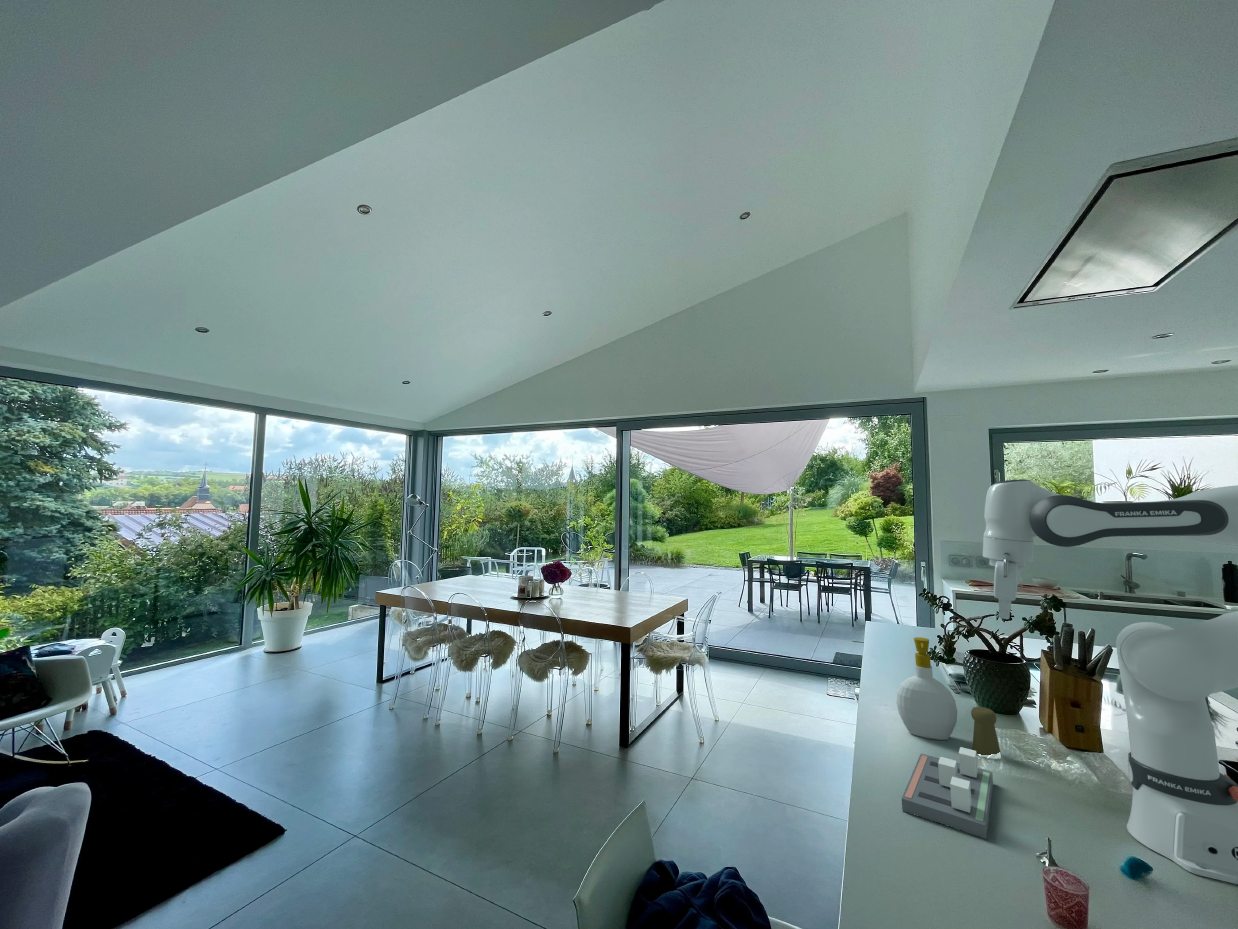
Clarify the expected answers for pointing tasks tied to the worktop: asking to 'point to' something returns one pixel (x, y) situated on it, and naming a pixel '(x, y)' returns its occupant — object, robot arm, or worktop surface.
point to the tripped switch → (947, 771)
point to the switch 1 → (968, 762)
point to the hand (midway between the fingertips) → (1005, 614)
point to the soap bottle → (926, 700)
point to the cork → (984, 731)
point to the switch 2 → (960, 794)
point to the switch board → (948, 797)
